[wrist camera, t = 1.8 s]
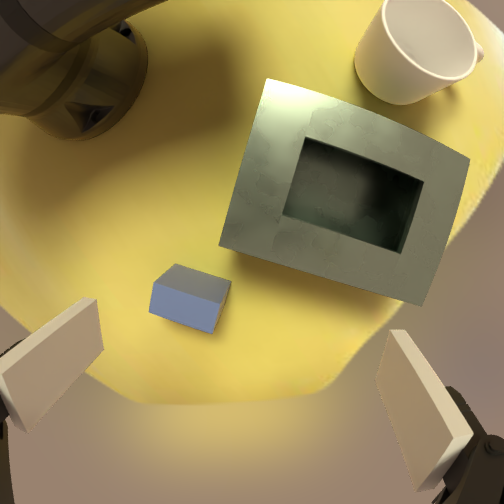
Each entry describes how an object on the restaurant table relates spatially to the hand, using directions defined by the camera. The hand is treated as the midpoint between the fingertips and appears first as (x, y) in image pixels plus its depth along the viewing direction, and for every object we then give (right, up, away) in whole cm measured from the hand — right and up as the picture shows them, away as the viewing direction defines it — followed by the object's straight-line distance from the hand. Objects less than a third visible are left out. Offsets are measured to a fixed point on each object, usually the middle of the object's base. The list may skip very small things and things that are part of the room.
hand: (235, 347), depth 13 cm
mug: (+17, +23, +12) cm, 30 cm away
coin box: (+9, +10, +16) cm, 20 cm away
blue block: (-5, +1, +19) cm, 20 cm away
